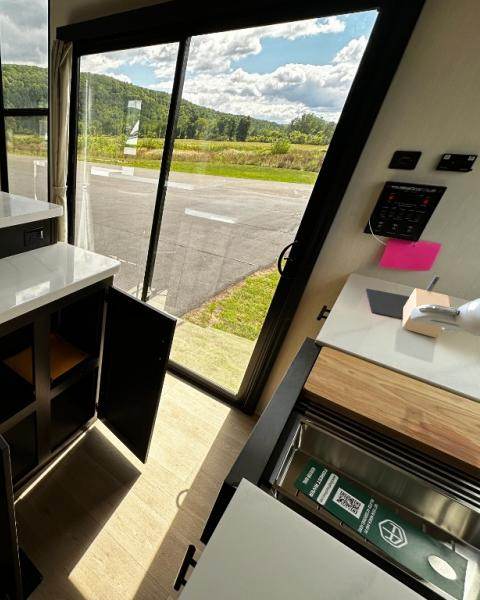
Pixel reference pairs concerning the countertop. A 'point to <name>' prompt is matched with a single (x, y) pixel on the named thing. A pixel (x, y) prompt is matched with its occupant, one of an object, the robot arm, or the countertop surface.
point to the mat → (387, 303)
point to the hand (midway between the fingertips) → (449, 328)
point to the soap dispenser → (420, 299)
